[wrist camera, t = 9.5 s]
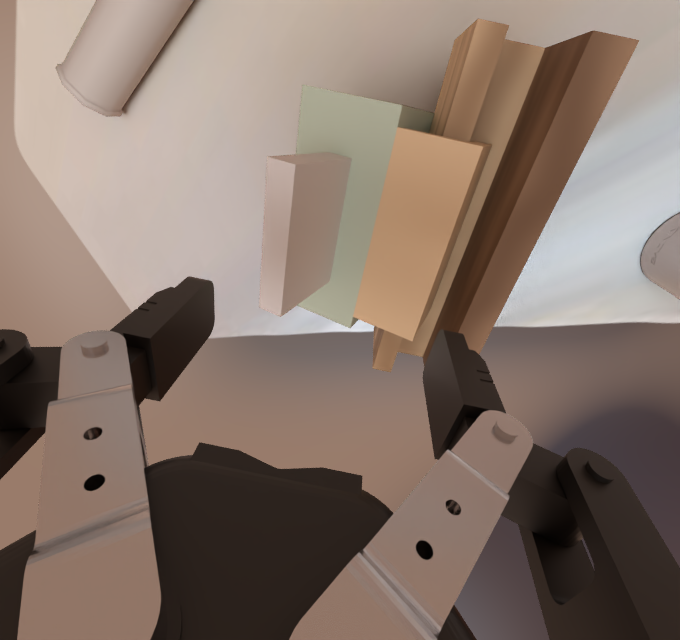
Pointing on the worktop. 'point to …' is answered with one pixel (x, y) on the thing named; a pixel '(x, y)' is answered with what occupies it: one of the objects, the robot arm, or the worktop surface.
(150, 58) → the tube
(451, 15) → the worktop surface
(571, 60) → the wall board
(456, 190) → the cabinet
